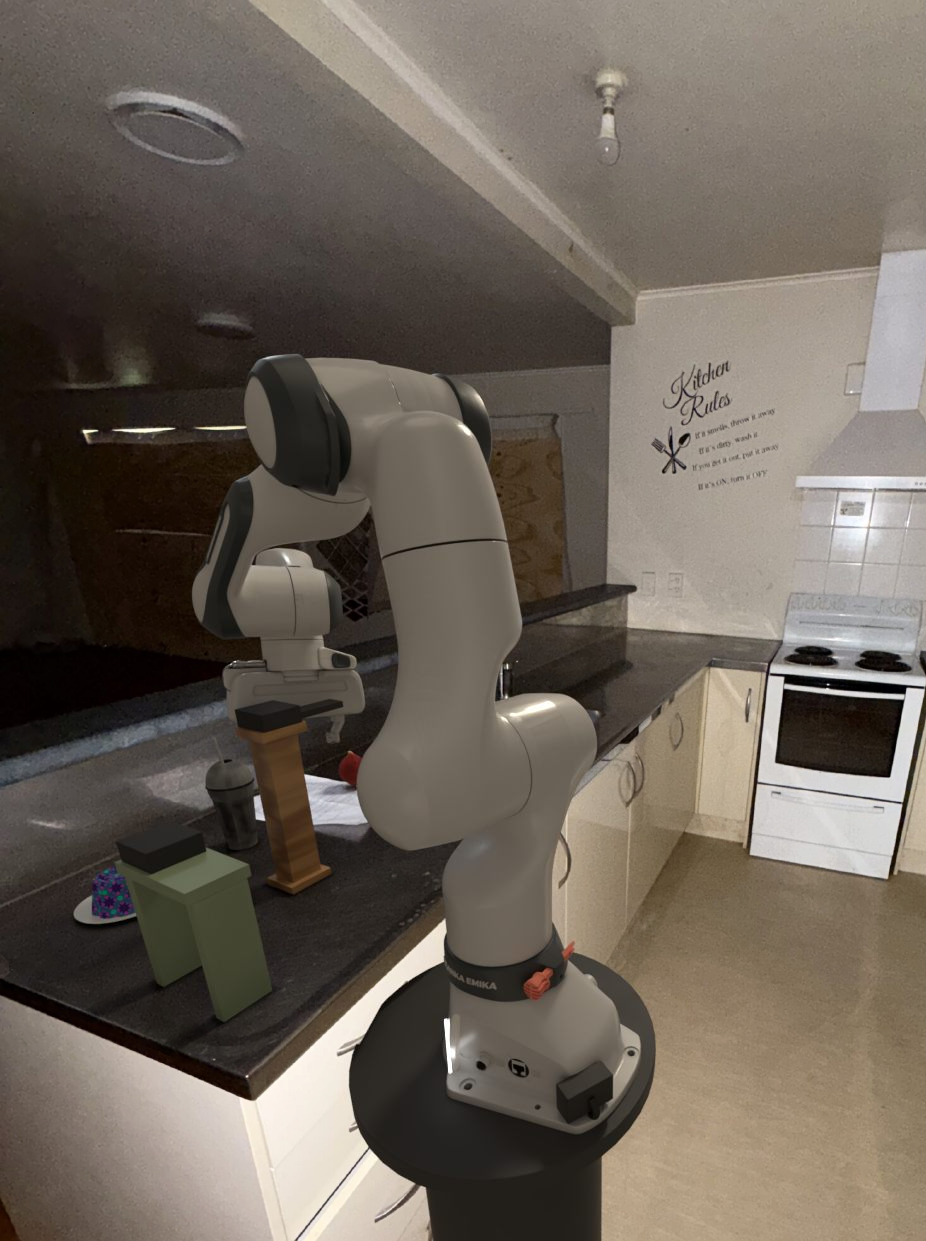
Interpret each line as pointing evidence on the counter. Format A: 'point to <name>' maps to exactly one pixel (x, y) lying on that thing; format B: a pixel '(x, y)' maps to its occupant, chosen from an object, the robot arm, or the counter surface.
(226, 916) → the low bench
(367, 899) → the counter surface
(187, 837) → the black block
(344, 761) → the onion
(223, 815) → the beverage cup
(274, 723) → the black pad
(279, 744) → the tall stand
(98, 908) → the pudding
